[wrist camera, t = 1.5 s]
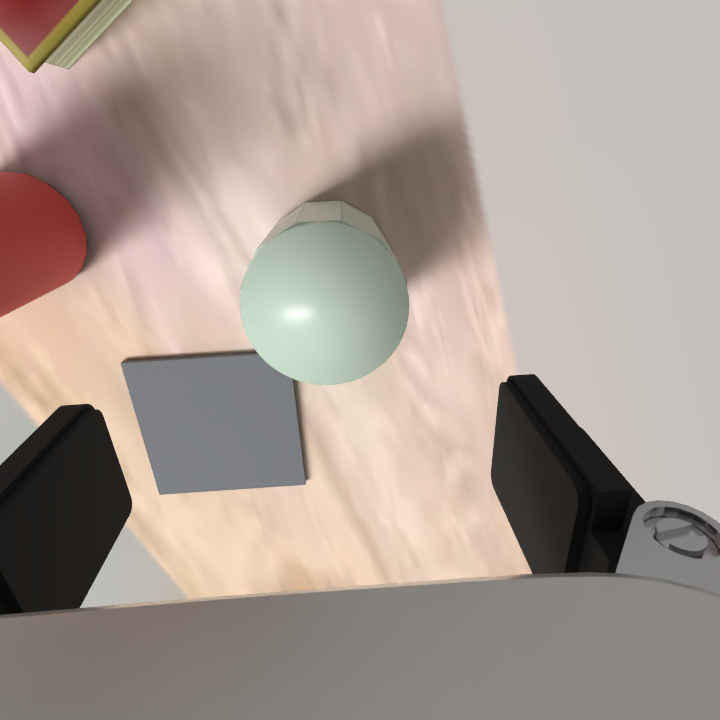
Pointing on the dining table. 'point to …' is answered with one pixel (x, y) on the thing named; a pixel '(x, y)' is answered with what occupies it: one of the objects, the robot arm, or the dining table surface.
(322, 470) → the dining table surface
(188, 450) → the slate mat
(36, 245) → the beer can
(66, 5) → the hardcover book
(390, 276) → the mint green domed cylinder
